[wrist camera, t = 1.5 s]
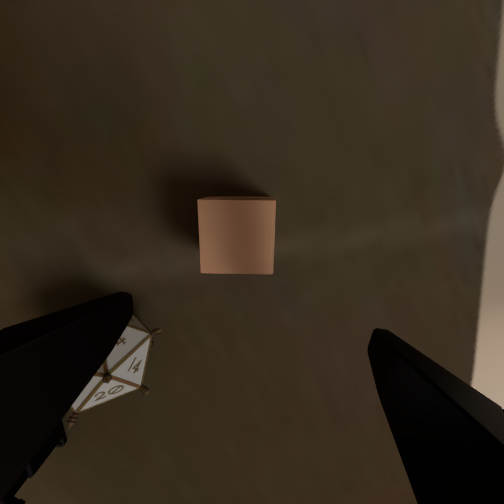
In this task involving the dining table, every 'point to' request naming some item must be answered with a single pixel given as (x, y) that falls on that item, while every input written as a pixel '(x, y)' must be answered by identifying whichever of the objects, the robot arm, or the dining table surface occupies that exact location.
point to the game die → (118, 369)
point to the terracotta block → (236, 234)
